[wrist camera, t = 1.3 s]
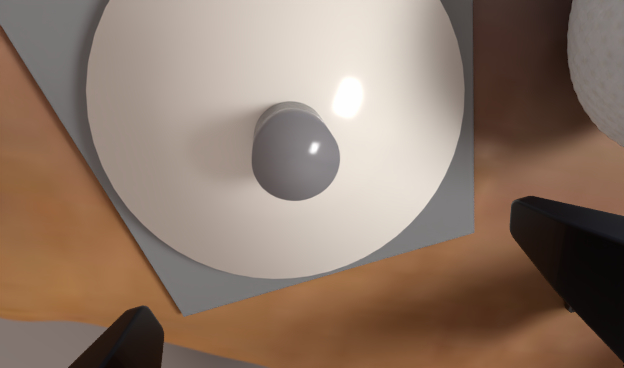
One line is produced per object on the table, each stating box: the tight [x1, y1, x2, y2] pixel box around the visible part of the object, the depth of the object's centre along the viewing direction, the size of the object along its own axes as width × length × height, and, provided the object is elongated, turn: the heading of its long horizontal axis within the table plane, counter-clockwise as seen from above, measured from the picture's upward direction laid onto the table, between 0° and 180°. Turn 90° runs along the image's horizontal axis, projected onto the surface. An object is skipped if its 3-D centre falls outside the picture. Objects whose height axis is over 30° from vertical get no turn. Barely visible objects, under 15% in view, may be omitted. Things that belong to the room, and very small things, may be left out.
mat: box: [0, 0, 474, 317], centre depth 18 cm, size 22×22×1 cm
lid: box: [86, 0, 465, 279], centre depth 16 cm, size 20×20×4 cm
